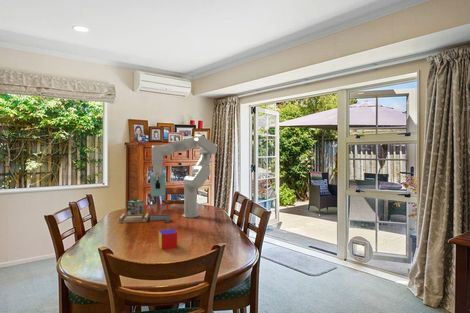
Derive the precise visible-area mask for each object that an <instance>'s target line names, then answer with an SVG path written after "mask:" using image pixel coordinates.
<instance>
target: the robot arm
mask: <svg viewBox="0 0 470 313" xmlns="http://www.w3.org/2000/svg"><path fill="white" fill-rule="evenodd" d="M196 148H199V151H200V158H199V159H198V161H197V163H196V164H195V165H194V167H193V168H192V175H191V174H188V175H186V176H184V178H183V181H182V184H183V191H184V194H183V197H184V199H183V200H184V201H183V202H184V203H183V204H184V206H183V209H184V211H183V214H182V215H181V216H182V218H189V219H191V218H198V217H199V213H198V212H197V211H198V205H197V204H198V202H197V201H198V199H197V198H198V193H197V189H200V188H202V186H203V185H204V184H205V182H206V181H207V180H208V178H209V176H210V174H211V168H210V164H211V160H212V159H211V155H215V154H216V153H217V152H218V146H217V145H216V143H214V142H213V141H211V140H210V139H208V138H207V137H204V136H202V135H201V136H192V137H189V138H186V139H185V138H184V139H180V140H177V141H173V142H169V143H165V144H161V145H152V146H151V165H152V166H153V167H152V175H153V179H154V178H156V183H155V185H156V189H160V178H161V175H162V165H164V158H163V156H172V155H173V154H174V153H176V152H186V151H189V150H193V149H196ZM158 178H159V179H158Z"/></svg>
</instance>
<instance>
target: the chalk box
mask: <svg viewBox="0 0 470 313" xmlns="http://www.w3.org/2000/svg"><path fill="white" fill-rule="evenodd" d="M131 198H132V200H128V201H126V215H139V214H145V213H144V210H145V209H144V207H145V206H144V200H141V199H140V200H139V199H137V196H132V197H131Z"/></svg>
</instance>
